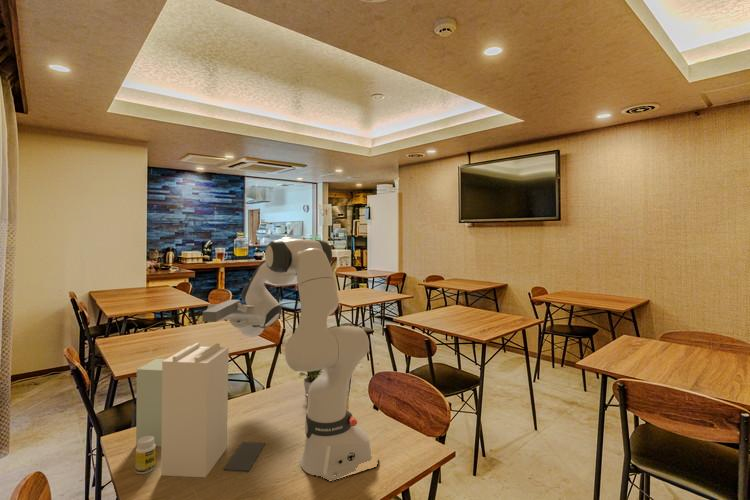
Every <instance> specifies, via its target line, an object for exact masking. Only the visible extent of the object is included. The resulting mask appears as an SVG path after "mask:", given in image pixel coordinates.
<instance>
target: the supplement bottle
mask: <svg viewBox="0 0 750 500" xmlns="http://www.w3.org/2000/svg"><path fill="white" fill-rule="evenodd" d="M156 447H157V446H156V445H155V443H154V437H153V436H144V437H142V438H140V439H139V440H138V441H137V445H136V447H135V448H136V449H135V466H134V467H135V470H134V472H135V474H138V475H144V474H148V473H150V472H152V471H153V470H155V468H156V458H157V457H156V454H157V453H156V452H157V451H156V450H157V449H156Z"/></svg>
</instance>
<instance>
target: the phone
mask: <svg viewBox="0 0 750 500" xmlns="http://www.w3.org/2000/svg"><path fill="white" fill-rule="evenodd" d="M265 445H266V442H260V441H259V442H258V441H257V442H256V441H242V442H241V443H240V445H239V446H238V448H237V449H236V450H235V452H234V453H233V455H232V456H231V458H230V459H229V461H227V464H226V465H225V466H224V467H223V472H224V471H226V472H228V471H229V472H243V473H249V472H250V471H251V468H252V467H253V465H254V464H255V462H256V460H257V458H258V457H259V455H260V453H261V452H262V451H263V449H264V447H265Z"/></svg>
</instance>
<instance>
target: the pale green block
mask: <svg viewBox="0 0 750 500" xmlns="http://www.w3.org/2000/svg"><path fill="white" fill-rule="evenodd" d="M166 359H167V358H155V359H153V360H151V361H149V362H148V363H146V364H144V365H141V366H140V367H138V368H137V369H136V417H135V419H136V425H135V426H136V430H135V433H136V435H135V440H136V441H135V445H136V446H137V441H138V440H139V439H140V438H142V437H144V436H153V437H154V443H155V445H156V447H161V441H162V361H164V360H166Z"/></svg>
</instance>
